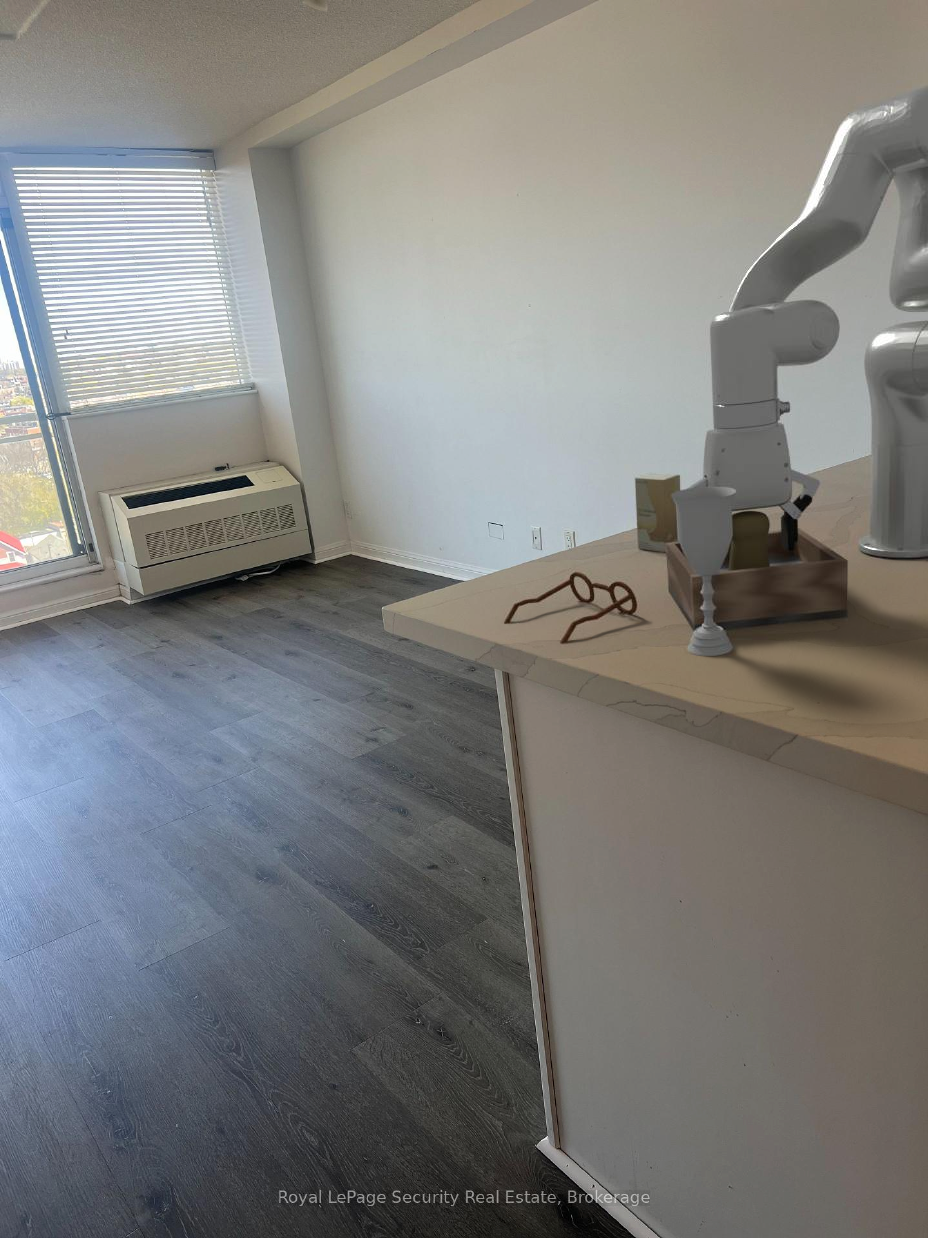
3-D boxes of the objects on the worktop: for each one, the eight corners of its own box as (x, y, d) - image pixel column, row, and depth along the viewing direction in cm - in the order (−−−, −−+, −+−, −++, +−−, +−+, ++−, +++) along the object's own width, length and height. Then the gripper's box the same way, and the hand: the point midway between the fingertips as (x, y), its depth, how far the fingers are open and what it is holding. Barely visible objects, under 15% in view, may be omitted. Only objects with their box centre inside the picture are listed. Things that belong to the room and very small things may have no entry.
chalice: (671, 642, 104) (662, 492, 99) (727, 633, 104) (721, 483, 99) (691, 663, 97) (683, 502, 92) (751, 654, 97) (746, 493, 92)
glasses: (640, 619, 115) (637, 582, 113) (562, 646, 109) (558, 608, 107) (576, 601, 126) (573, 568, 124) (502, 626, 119) (497, 591, 118)
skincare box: (637, 549, 148) (632, 477, 144) (653, 543, 150) (648, 472, 147) (668, 553, 143) (664, 478, 139) (684, 546, 146) (680, 473, 142)
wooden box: (799, 577, 122) (799, 528, 120) (847, 617, 105) (847, 560, 103) (668, 591, 123) (665, 542, 121) (694, 632, 106) (691, 577, 104)
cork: (777, 601, 110) (776, 515, 107) (727, 604, 112) (724, 519, 108) (771, 587, 116) (769, 505, 113) (724, 590, 117) (720, 509, 114)
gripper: (808, 405, 110) (809, 538, 115) (668, 422, 111) (675, 553, 116) (828, 410, 103) (829, 551, 108) (679, 428, 104) (686, 567, 109)
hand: (749, 552), depth 112 cm, fingers open, 9 cm apart
